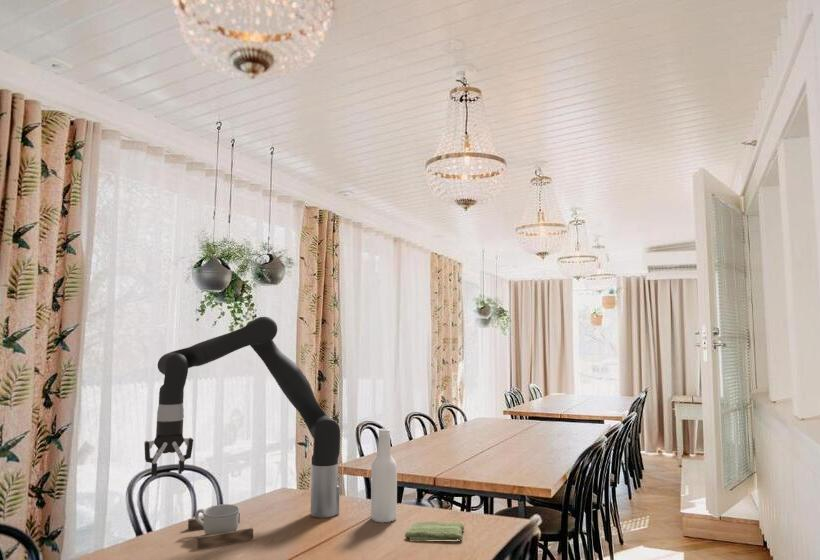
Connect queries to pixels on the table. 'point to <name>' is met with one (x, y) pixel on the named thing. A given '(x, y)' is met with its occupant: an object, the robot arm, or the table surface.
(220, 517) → the teacup
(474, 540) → the table surface
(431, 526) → the washcloth
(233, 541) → the pair of wooden slats
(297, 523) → the table surface
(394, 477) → the alcohol
